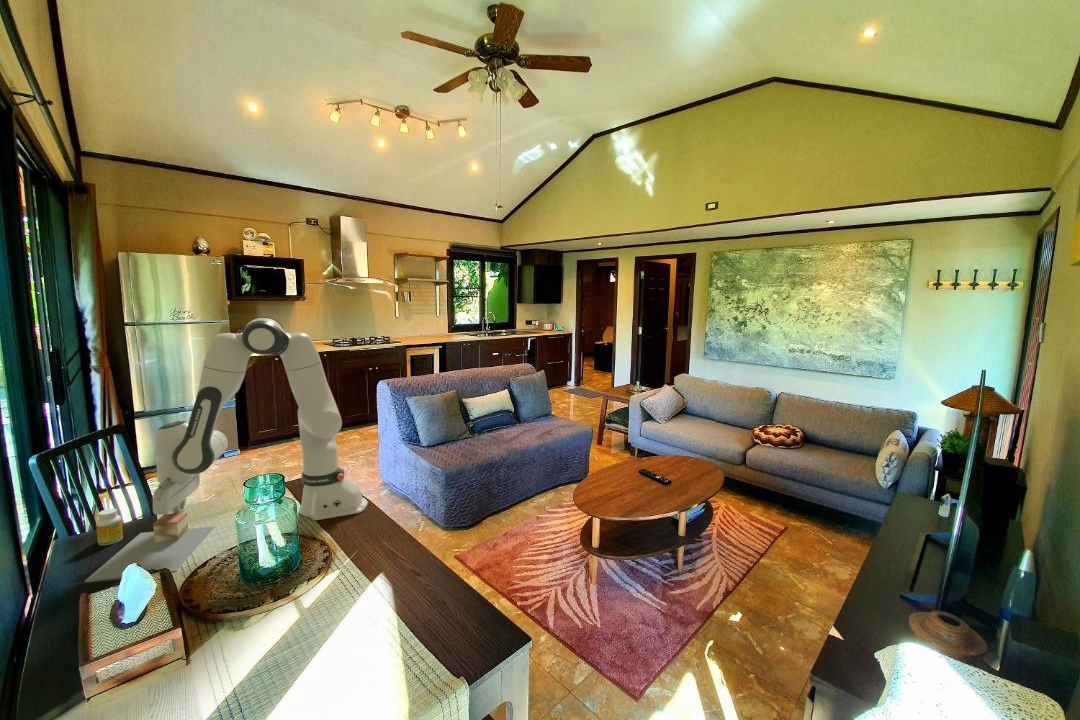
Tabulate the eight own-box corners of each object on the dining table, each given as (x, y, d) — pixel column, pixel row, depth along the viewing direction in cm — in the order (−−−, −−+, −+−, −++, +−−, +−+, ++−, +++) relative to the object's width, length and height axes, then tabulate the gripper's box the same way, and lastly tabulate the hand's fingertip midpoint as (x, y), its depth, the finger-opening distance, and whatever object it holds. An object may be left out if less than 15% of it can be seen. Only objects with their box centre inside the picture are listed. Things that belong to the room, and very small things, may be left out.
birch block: (188, 530, 139) (186, 512, 138) (178, 540, 133) (176, 521, 132) (165, 532, 137) (164, 514, 136) (154, 542, 131) (153, 523, 131)
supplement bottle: (110, 547, 129) (107, 516, 128) (92, 546, 129) (89, 515, 128) (128, 537, 134) (125, 507, 133) (111, 536, 134) (107, 506, 133)
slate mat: (215, 527, 142) (215, 526, 141) (176, 572, 119) (176, 570, 119) (140, 534, 136) (140, 532, 136) (84, 582, 113) (84, 580, 113)
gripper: (169, 485, 128) (172, 529, 130) (202, 460, 148) (205, 499, 150) (143, 487, 127) (147, 532, 128) (180, 461, 146) (183, 500, 148)
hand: (179, 514), depth 139 cm, fingers closed
